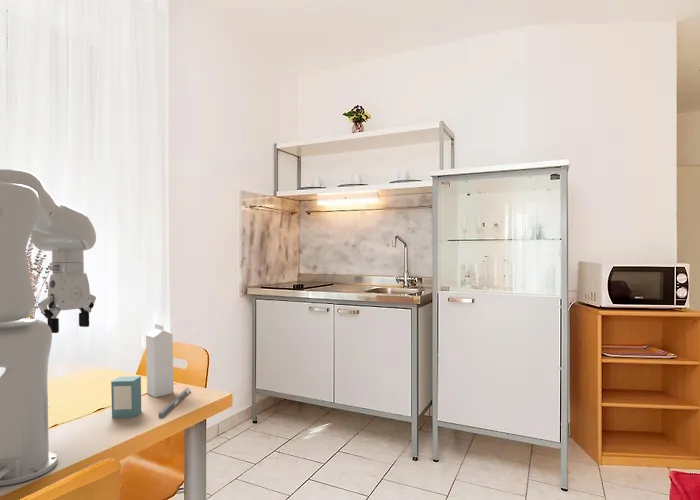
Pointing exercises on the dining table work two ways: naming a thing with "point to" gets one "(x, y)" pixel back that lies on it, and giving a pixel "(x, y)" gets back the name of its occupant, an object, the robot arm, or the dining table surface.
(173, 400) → the rail
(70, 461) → the dining table surface
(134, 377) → the tea tin
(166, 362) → the milk
